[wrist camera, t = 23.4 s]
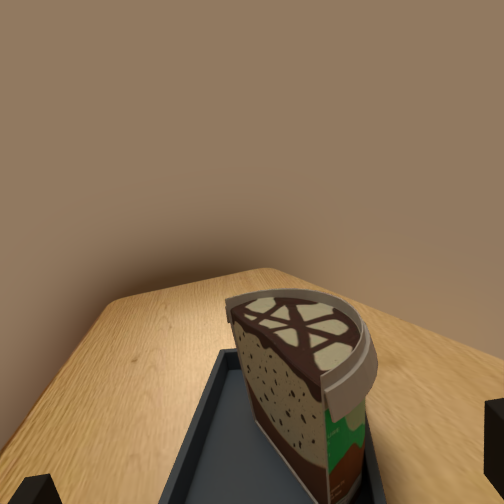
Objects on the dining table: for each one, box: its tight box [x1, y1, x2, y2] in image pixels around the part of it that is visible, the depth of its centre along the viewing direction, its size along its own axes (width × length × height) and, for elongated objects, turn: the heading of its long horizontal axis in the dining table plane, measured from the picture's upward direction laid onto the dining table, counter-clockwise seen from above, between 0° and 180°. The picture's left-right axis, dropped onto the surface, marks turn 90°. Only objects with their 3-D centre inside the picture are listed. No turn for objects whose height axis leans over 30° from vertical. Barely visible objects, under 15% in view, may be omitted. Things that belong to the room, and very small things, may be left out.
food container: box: [225, 288, 378, 504], centre depth 22 cm, size 12×6×10 cm, turn 26°
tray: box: [158, 348, 387, 504], centre depth 25 cm, size 12×17×3 cm
